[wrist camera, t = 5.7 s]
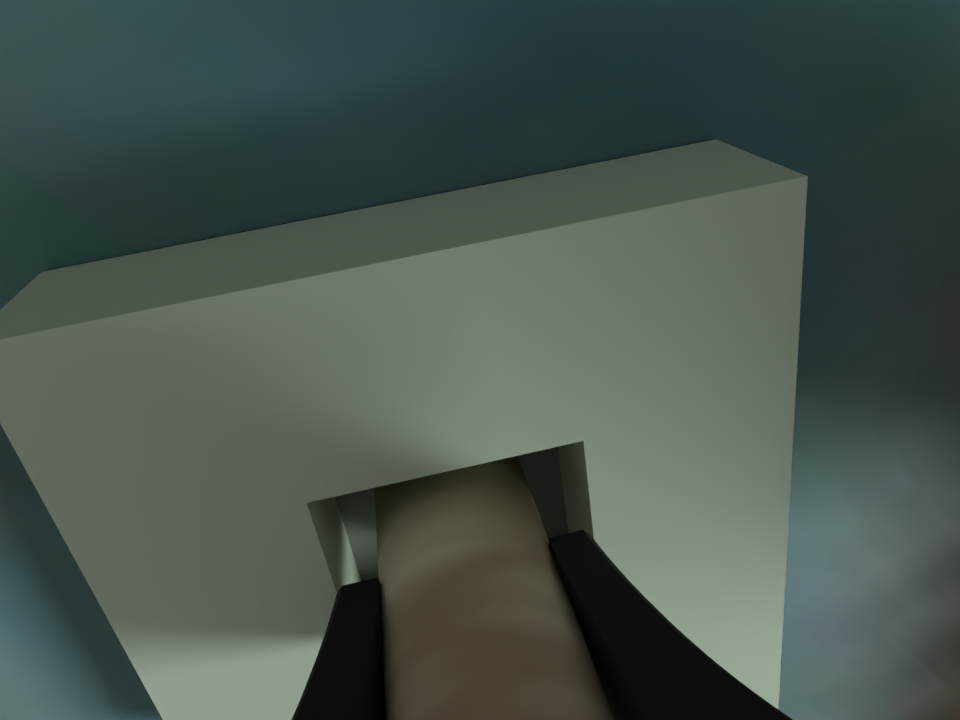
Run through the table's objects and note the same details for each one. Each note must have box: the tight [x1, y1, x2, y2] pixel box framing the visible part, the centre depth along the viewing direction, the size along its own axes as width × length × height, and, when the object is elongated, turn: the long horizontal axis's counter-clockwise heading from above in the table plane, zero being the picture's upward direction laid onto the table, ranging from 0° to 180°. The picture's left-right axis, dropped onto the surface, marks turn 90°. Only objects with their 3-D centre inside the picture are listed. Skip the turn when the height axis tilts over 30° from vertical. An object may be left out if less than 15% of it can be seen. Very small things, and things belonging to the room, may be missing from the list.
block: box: [0, 139, 808, 720], centre depth 14 cm, size 12×12×3 cm
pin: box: [375, 456, 614, 720], centre depth 12 cm, size 3×3×7 cm
